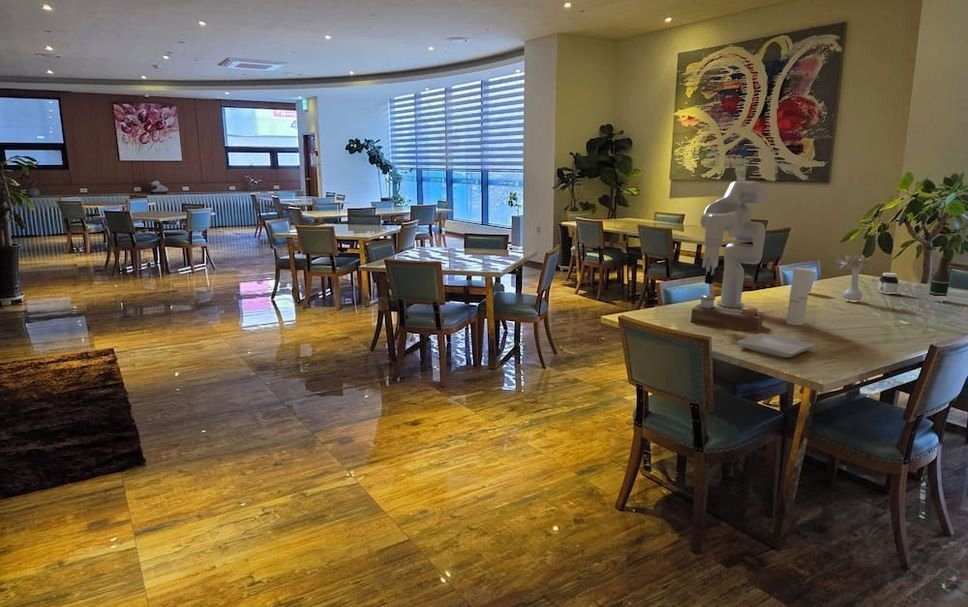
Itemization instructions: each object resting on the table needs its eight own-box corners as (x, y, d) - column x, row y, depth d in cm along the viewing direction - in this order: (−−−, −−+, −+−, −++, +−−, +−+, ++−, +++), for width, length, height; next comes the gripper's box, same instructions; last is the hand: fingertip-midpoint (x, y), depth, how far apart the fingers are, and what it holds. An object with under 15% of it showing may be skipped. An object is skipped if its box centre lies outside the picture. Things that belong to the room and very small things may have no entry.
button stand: (697, 316, 288) (698, 304, 287) (761, 325, 274) (763, 312, 272) (690, 321, 278) (692, 308, 277) (757, 331, 264) (759, 317, 262)
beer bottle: (949, 302, 330) (957, 258, 325) (934, 302, 330) (942, 258, 325) (938, 299, 338) (947, 256, 332) (924, 299, 338) (932, 255, 332)
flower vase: (833, 296, 339) (840, 251, 333) (872, 302, 327) (879, 255, 321) (827, 300, 329) (834, 254, 324) (867, 306, 317) (874, 258, 312)
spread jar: (874, 291, 356) (878, 271, 353) (895, 292, 355) (899, 272, 352) (886, 296, 344) (889, 275, 342) (907, 296, 343) (911, 276, 341)
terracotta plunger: (741, 319, 275) (743, 306, 274) (757, 321, 272) (758, 308, 270) (738, 322, 270) (740, 308, 268) (754, 324, 266) (756, 310, 265)
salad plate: (760, 339, 252) (761, 331, 252) (814, 352, 237) (815, 343, 236) (734, 349, 239) (735, 340, 238) (790, 362, 223) (792, 353, 222)
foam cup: (797, 293, 345) (800, 270, 342) (792, 290, 354) (795, 268, 351) (815, 294, 344) (818, 271, 341) (809, 291, 353) (813, 269, 350)
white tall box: (805, 326, 274) (813, 270, 268) (788, 325, 275) (796, 270, 270) (801, 322, 281) (808, 268, 275) (784, 321, 282) (791, 267, 277)
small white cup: (700, 307, 283) (702, 293, 282) (715, 309, 280) (716, 295, 279) (697, 309, 278) (698, 296, 277) (712, 311, 275) (713, 298, 274)
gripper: (708, 240, 280) (704, 280, 284) (700, 243, 268) (696, 284, 272) (725, 242, 277) (721, 282, 280) (718, 244, 264) (713, 286, 268)
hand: (708, 283), depth 276 cm, fingers closed
